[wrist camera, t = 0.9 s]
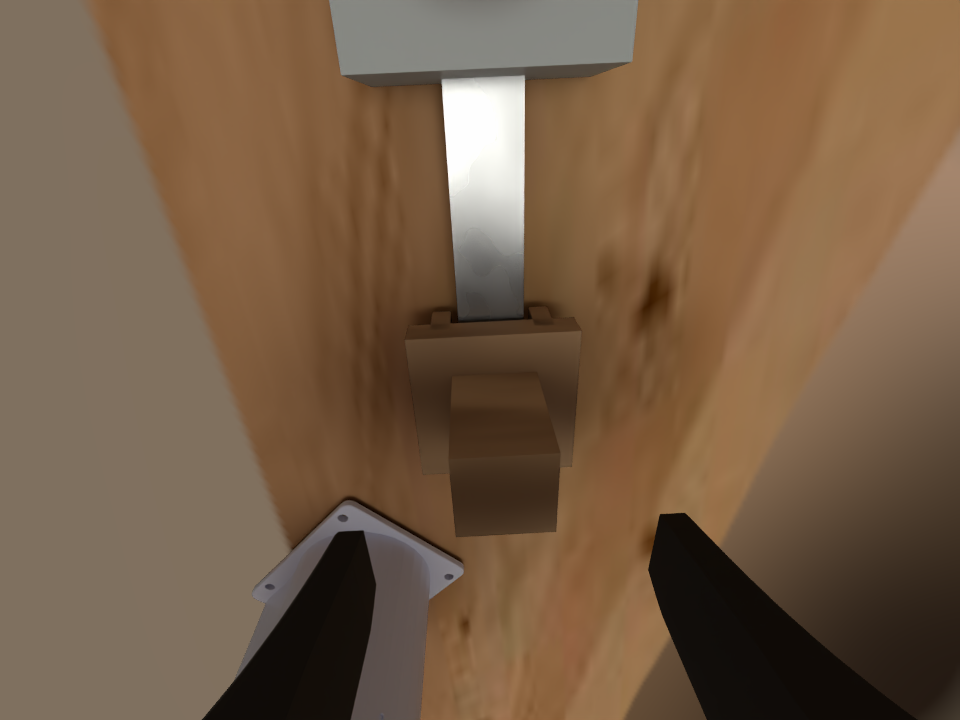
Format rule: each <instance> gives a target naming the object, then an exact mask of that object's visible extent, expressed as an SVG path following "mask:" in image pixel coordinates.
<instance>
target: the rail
mask: <svg viewBox="0 0 960 720" xmlns="http://www.w3.org/2000/svg"><path fill="white" fill-rule="evenodd" d="M442 94H443V108H444V122H445V136H446V151H447V165H448V179H449V194H450V208H451V222H452V237H453V251H454V265H455V280H456V294H457V308H458V323H471V322H491V321H510V320H523V313H524V123H525V75H523V76H501V77H479V78H458V79H442Z"/></svg>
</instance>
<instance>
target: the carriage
mask: <svg viewBox="0 0 960 720" xmlns="http://www.w3.org/2000/svg"><path fill="white" fill-rule="evenodd" d="M581 335H582V330H581V329H580V327H579V325H578V323H577V322H576V320H575V318H574V317H569V318H552V317H551V315H550V313H549V311H548V308H547V306H542V307H528V320H510V321H491V322H471V323H452V320H451V311H443V312H433V313H432V319H431V325H412V326H408V329H407V333H406V336H405V347H406V355H407V362H408V369H409V377H410V384H411V392H412V399H413V406H414V414H415V421H416V429H417V436H418V444H419V451H420V458H421V466H422V473H423V475H430V474H448V473H450V482H451V492H452V502H453V513H454V523H455V533H456V537H469V536H487V535H505V534H523V533H541V532H556V526H557V508H558V491H559V473H560V467H572V457H573V444H574V430H575V416H576V403H577V389H578V376H579V362H580V348H581Z"/></svg>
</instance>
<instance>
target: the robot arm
mask: <svg viewBox="0 0 960 720" xmlns="http://www.w3.org/2000/svg"><path fill="white" fill-rule="evenodd" d="M343 515H346V516H343ZM648 571H649V574H650V577H651V581H652V584H653V588H654V591H655V594H656V598H657V601H658V604H659V607H660V610H661V613H662V616H663V618H664V621H665V623H666V625H667V628H668V630H669V633H670V635H671V637H672V640H673V642H674V644H675V647H676V649H677V651H678V654H679V656H680V658H681V660H682V663H683V665H684V667H685V670H686V672H687V674H688V677H689V679H690V681H691V684H692V686H693V688H694V691H695V693H696V695H697V698H698V700H699V702H700V704H701V707H702V709H703V712H704V714H705V716H706V719H707V720H917V719H916V718H914V717H913V716H911V715H910V714H909V713H907V712H906V711H904V710H903V709H902V708H900V707H899V706H898V705H897V704H895V703H894V702H893V701H891V700H890V699H889V698H887V697H886V696H885V695H883V694H882V693H881V692H879V691H878V690H877V689H876V688H874V687H873V686H872V685H871V684H869V683H868V682H867V681H866V680H865V679H863V678H862V677H861V676H859V675H858V674H857V673H856V672H855V671H853V670H852V669H851V668H850V667H848V666H847V665H846V664H845V663H843V662H842V661H841V660H840V659H838V658H837V657H836V656H835V655H833V654H832V653H831V652H830V651H829V650H828V649H827V648H825V647H824V646H823V645H822V644H821V643H820V642H818V641H817V640H816V639H815V638H814V637H813V636H811V635H810V634H809V633H808V632H807V631H806V630H805V629H804V628H803V627H802V626H800V625H799V624H798V623H797V622H796V621H795V620H794V619H792V618H791V617H790V616H789V615H788V614H787V613H786V612H785V611H784V610H782V608H780V607H779V606H778V605H777V604H776V603H775V602H774V601H773V600H772V599H771V598H770V597H769V596H768V595H767V594H766V593H765V592H764V591H762V589H760V588H759V587H758V586H757V585H756V584H755V583H754V582H753V581H752V580H751V579H750V578H749V577H748V576H747V575H746V574H745V573H744V572H743V571H742V570H741V569H740V568H739V567H738V566H737V565H736V564H735V563H734V562H733V561H732V560H731V559H730V558H729V557H728V556H727V555H726V554H725V553H724V552H723V551H722V550H721V549H720V548H719V547H718V546H717V545H716V544H715V543H714V542H713V541H712V540H711V539H710V538H709V537H708V536H707V535H706V534H705V533H704V532H703V531H702V530H701V529H700V527H699V526H698V525H697V524H696V523H695V522H694V521H693V520H692V519H691V518H690V517H689V516H688V515H687V514H686V513H674V514H660V516H659V521H658V526H657V530H656V535H655V540H654V545H653V549H652V554H651V559H650V564H649V568H648ZM463 573H464V566H463V564H462V563H461V562H459V561H458V560H456V559H454V558H453V557H451V556H449V555H447V554H446V553H444V552H442V551H440V550H439V549H437V548H435V547H433V546H432V545H430V544H428V543H426V542H425V541H423V540H421V539H419V538H418V537H416V536H414V535H412V534H411V533H409V532H407V531H406V530H404V529H402V528H400V527H399V526H397V525H395V524H393V523H392V522H390V521H388V520H386V519H385V518H383V517H381V516H379V515H378V514H376V513H374V512H372V511H371V510H369V509H367V508H365V507H364V506H362V505H360V504H358V503H357V502H355V501H351V500H347V501H344V502H342V503H341V504H340V505H339V506H338V507H337V508H336V509H335V510H334V511H333V512H332V513H331V514H330V515H329V516H328V517H327V518H326V519H325V520H323V521H322V522H321V523H320V524H319V525H318V526H317V527H316V528H315V529H314V530H313V531H312V532H311V533H310V534H309V535H308V536H307V537H306V538H305V539H304V540H303V541H302V542H301V543H300V544H299V545H298V546H296V547H295V548H294V549H293V550H292V551H291V552H290V553H289V554H288V555H287V556H286V557H285V558H284V559H283V560H282V561H281V562H280V563H279V564H278V565H277V566H276V567H275V568H274V569H273V570H272V571H271V572H269V574H267V575H266V577H264V578H263V579H262V580H261V581H260V582H259V583H258V584H257V585H256V586H255V588H254V589H253V592H252V596H253V597H254V598H255V599H256V600H258V601H261V602H263V603H265V607H264V609H263V612H262V614H261V617H260V619H259V621H258V624H257V626H256V629H255V631H254V634H253V636H252V639H251V641H250V644H249V646H248V648H247V651H246V653H245V656H244V658H243V661H242V663H241V665H240V668H239V670H238V673H237V675H236V677H235V680H234V682H233V683H232V684H231V685H230V687H229V688H228V689H227V691H226V692H225V693H224V694H223V695H222V696H221V698H220V699H219V700H218V701H217V702H216V704H215V705H214V706H213V707H212V708H211V710H210V711H209V712H208V713H207V714H206V716H205V717H204V718H203V719H202V720H420V717H421V703H422V689H423V675H424V661H425V648H426V634H427V620H428V606H429V600H430V599H431V598H432V597H434V596H435V595H436V594H438V593H439V592H440V591H442V590H443V589H444V588H446V587H447V586H448V585H449V584H451V583H452V582H453V581H455V580H456V579H457V578H459V577H460V576H461V575H462V574H463Z"/></svg>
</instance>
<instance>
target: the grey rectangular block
mask: <svg viewBox="0 0 960 720" xmlns="http://www.w3.org/2000/svg"><path fill="white" fill-rule="evenodd" d="M329 2H330V8H331V15H332V21H333V27H334V33H335V40H336V46H337V52H338V58H339V65H340V71H341V75H342V76H345V77H347V78H350V79H352V80H355V81H358V82H360V83H363V84H366V85H368V86H371V87H379V86H400V85H422V84H442V79H458V78H479V77H501V76H523V75H525V80H530V79H552V78H574V77H591V76H594V75H597V74H599V73H602V72H605V71H608V70H611V69H613V68H616V67H619V66H622V65H625V64H627V63H630V62H632V57H633V47H634V37H635V27H636V17H637V7H638V0H329Z"/></svg>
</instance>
